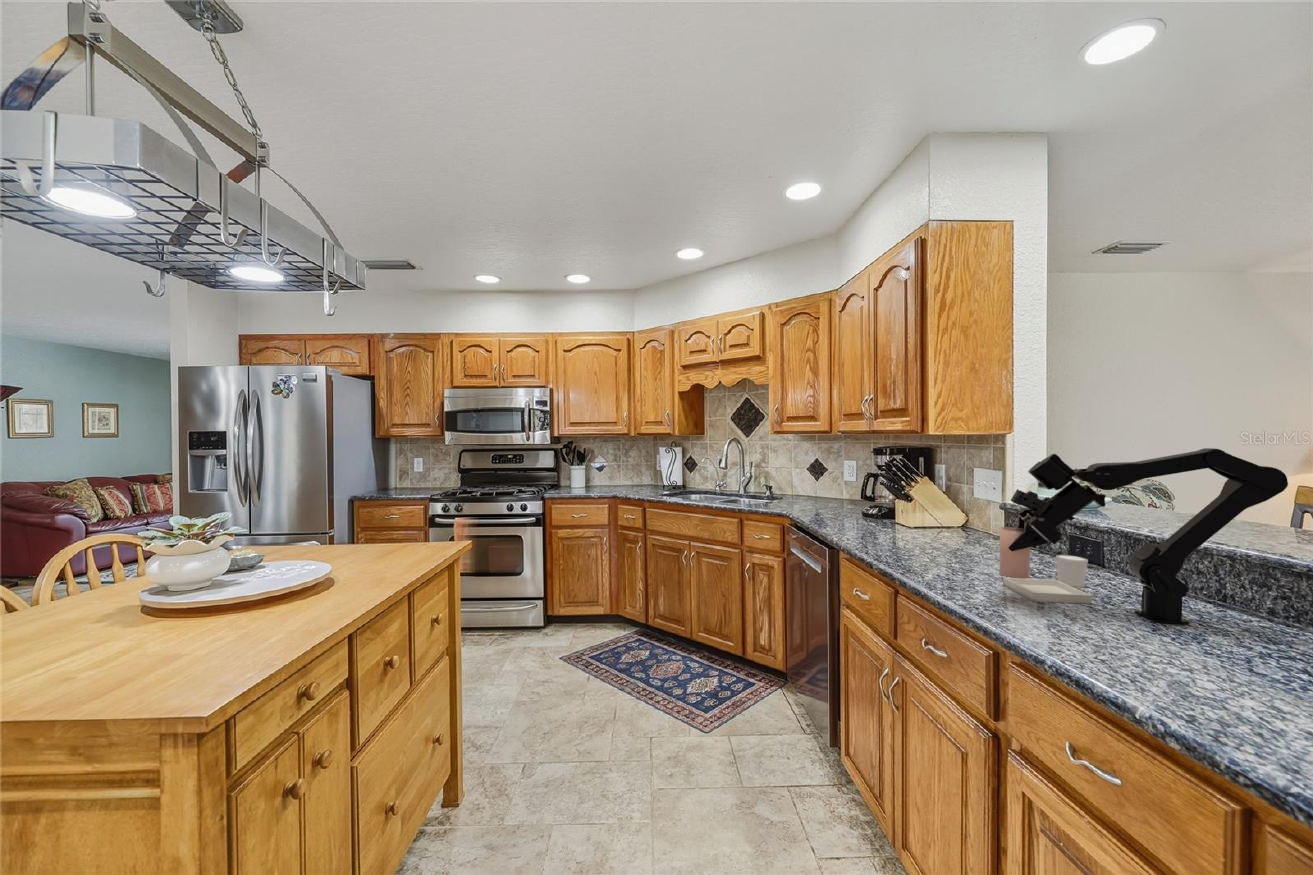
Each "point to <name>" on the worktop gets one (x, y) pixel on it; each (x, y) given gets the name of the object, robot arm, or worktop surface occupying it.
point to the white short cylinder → (1071, 570)
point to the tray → (1047, 590)
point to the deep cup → (1013, 555)
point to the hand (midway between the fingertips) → (1007, 547)
